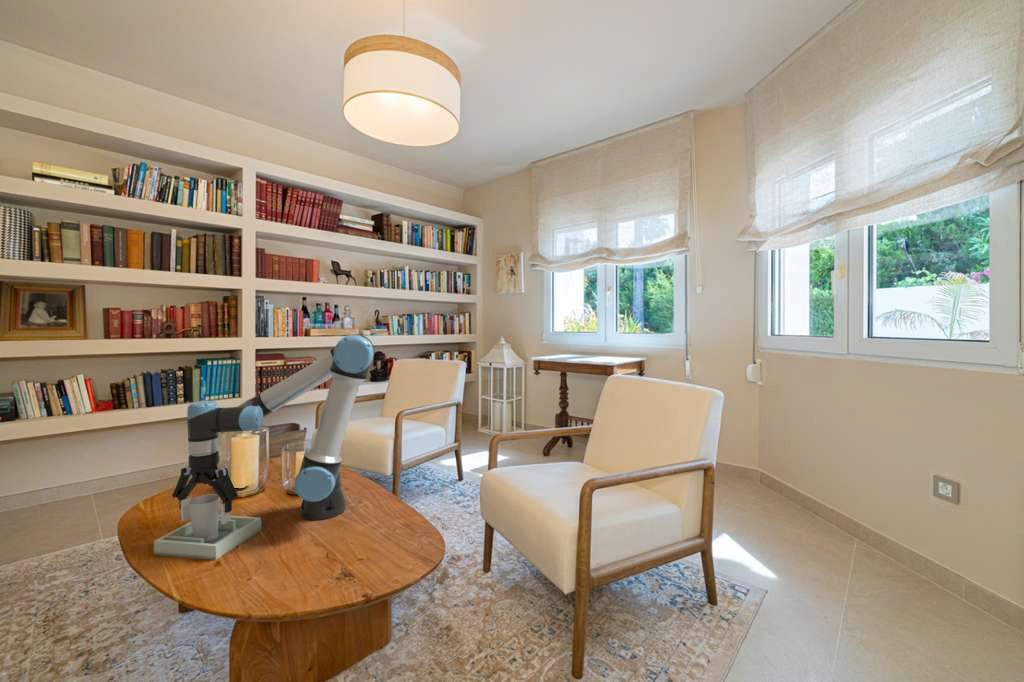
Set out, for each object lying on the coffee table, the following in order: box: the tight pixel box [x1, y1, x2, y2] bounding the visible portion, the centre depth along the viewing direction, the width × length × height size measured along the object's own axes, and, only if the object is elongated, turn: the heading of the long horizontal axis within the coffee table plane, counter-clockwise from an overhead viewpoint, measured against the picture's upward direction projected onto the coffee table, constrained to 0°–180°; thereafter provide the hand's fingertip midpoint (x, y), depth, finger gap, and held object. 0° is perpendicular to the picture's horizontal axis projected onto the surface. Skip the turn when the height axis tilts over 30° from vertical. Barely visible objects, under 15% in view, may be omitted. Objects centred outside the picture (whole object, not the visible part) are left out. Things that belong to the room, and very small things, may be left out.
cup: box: [188, 493, 221, 542], centre depth 133 cm, size 8×8×12 cm
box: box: [153, 514, 262, 561], centre depth 133 cm, size 20×18×4 cm
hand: (205, 521), depth 133 cm, fingers open, 13 cm apart
